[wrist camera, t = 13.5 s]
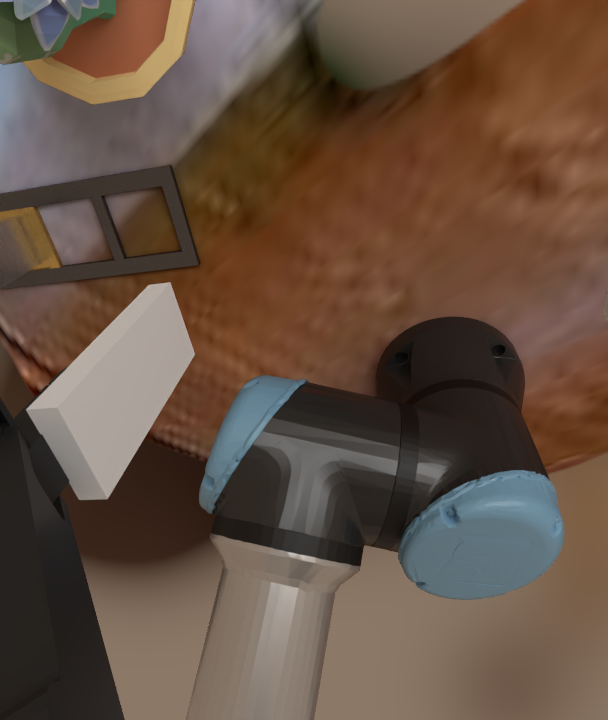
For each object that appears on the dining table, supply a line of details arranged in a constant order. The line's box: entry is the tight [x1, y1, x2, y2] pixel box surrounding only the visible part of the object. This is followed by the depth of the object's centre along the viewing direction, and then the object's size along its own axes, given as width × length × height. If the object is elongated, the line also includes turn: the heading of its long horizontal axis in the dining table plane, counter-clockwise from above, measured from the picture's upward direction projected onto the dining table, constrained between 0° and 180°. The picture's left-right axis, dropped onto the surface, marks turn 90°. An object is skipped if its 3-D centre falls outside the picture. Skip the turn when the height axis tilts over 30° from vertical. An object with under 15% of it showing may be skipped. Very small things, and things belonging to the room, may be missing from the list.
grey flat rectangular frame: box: [0, 165, 200, 290], centre depth 49 cm, size 10×24×1 cm, turn 100°
